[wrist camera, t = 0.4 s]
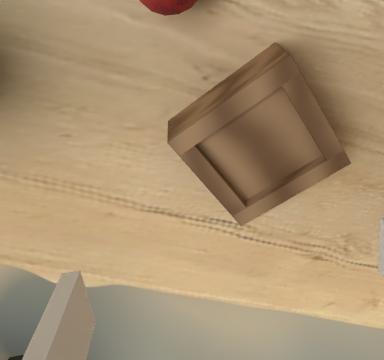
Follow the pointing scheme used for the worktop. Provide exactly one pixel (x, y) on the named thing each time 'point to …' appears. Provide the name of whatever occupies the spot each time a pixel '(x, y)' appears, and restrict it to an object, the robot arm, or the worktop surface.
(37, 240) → the worktop surface
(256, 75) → the walnut tray
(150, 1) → the pomegranate
